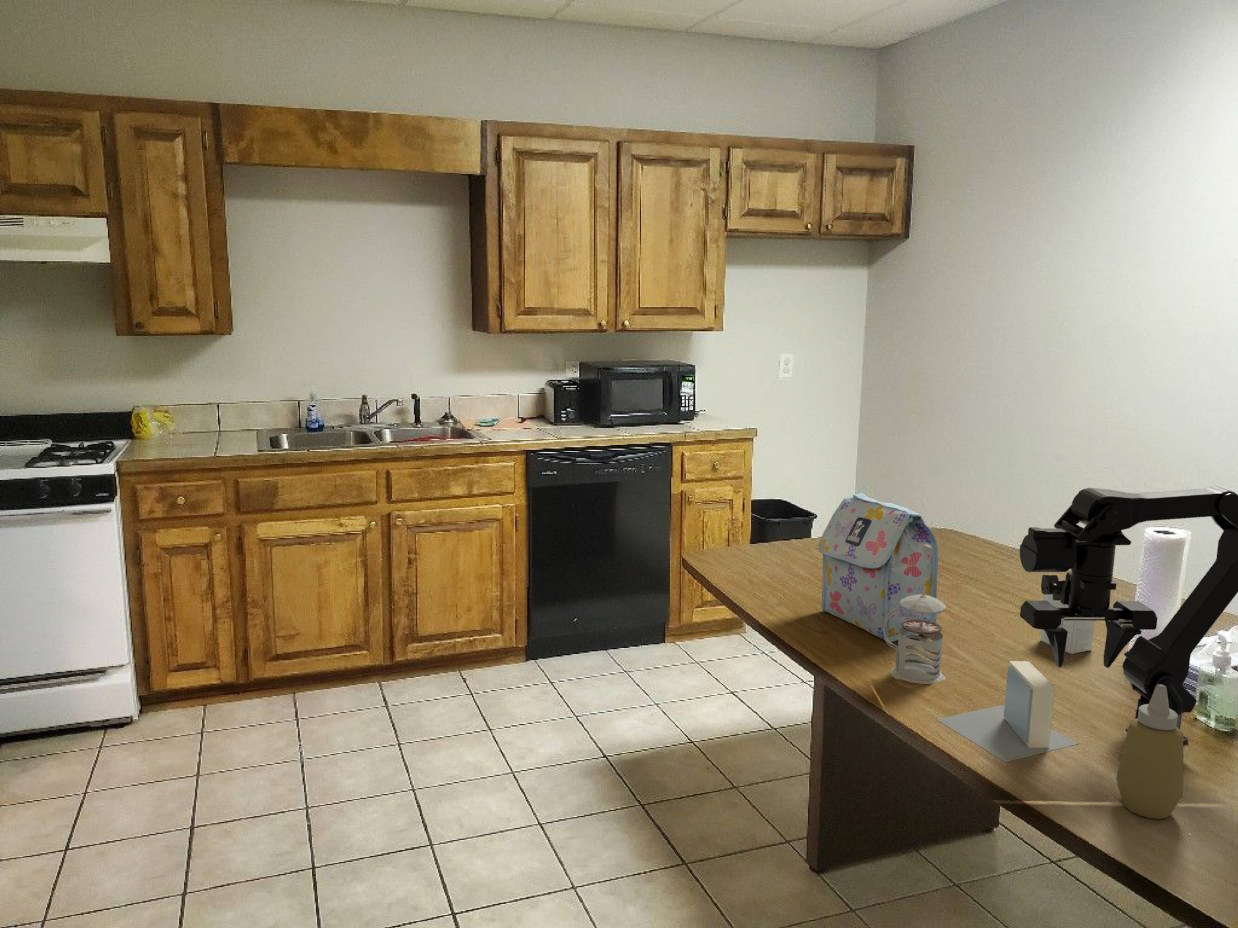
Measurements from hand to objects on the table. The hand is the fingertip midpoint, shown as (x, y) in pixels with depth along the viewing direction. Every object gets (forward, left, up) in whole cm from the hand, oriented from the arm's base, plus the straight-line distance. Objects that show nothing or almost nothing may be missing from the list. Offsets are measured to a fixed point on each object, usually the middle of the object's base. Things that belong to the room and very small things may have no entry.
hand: (1082, 666), depth 146 cm
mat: (+9, -5, -12) cm, 16 cm away
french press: (+8, -29, -12) cm, 33 cm away
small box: (-30, -29, -12) cm, 44 cm away
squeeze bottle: (+8, +19, -12) cm, 24 cm away
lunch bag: (-2, -54, -12) cm, 56 cm away
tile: (+7, -4, -12) cm, 14 cm away
